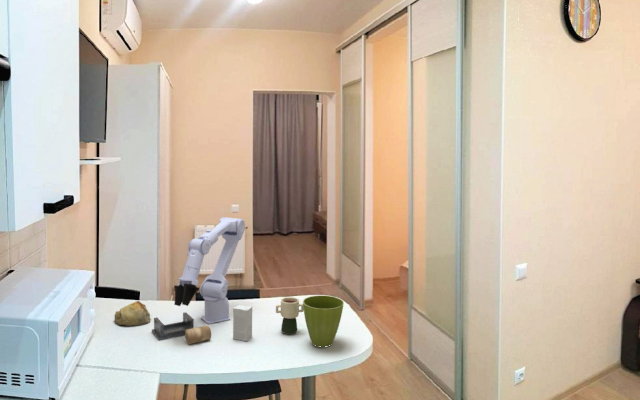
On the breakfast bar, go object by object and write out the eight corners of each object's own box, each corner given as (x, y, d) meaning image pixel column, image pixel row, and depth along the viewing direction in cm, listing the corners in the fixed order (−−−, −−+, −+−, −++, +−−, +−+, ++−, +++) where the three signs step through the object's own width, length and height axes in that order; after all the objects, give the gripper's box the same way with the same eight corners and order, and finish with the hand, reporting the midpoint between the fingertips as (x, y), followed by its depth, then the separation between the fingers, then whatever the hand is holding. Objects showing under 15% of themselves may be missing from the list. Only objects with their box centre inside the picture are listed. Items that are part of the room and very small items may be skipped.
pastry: (157, 319, 195) (157, 300, 194) (134, 330, 184) (134, 310, 183) (132, 313, 201) (131, 295, 200) (107, 323, 190) (107, 303, 189)
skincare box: (252, 337, 181) (252, 306, 179) (247, 341, 177) (247, 310, 175) (238, 334, 183) (238, 304, 181) (232, 339, 179) (232, 308, 177)
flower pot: (297, 337, 182) (298, 296, 180) (334, 333, 186) (336, 294, 184) (307, 354, 168) (308, 310, 166) (347, 350, 172) (349, 307, 170)
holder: (187, 324, 190) (187, 311, 190) (195, 332, 183) (195, 318, 182) (151, 332, 182) (151, 318, 182) (158, 340, 175) (158, 326, 174)
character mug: (301, 328, 191) (302, 296, 190) (304, 335, 184) (305, 302, 183) (274, 329, 189) (274, 297, 187) (276, 336, 182) (277, 303, 180)
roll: (205, 336, 180) (206, 323, 179) (211, 341, 176) (211, 328, 175) (184, 340, 176) (185, 327, 175) (189, 346, 172) (190, 332, 171)
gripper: (175, 267, 184) (163, 302, 179) (189, 264, 172) (178, 301, 167) (191, 273, 187) (181, 307, 182) (207, 270, 176) (196, 307, 171)
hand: (181, 305), depth 175 cm, fingers open, 7 cm apart
